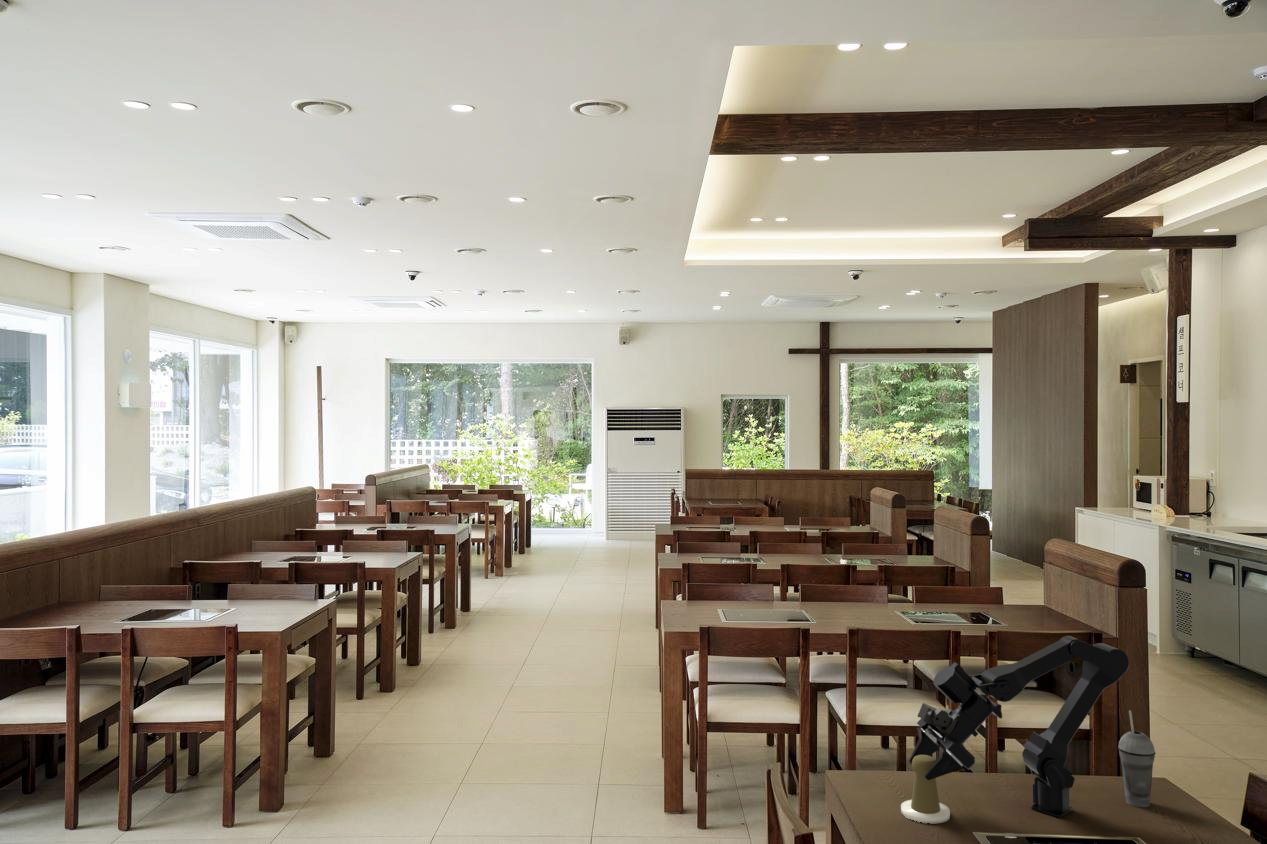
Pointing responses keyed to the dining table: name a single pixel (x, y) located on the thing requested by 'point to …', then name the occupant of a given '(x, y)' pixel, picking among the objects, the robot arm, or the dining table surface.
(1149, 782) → the beverage cup
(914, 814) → the coaster
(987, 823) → the dining table surface
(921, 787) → the cork
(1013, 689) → the robot arm
